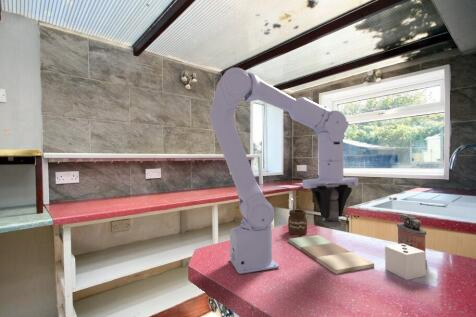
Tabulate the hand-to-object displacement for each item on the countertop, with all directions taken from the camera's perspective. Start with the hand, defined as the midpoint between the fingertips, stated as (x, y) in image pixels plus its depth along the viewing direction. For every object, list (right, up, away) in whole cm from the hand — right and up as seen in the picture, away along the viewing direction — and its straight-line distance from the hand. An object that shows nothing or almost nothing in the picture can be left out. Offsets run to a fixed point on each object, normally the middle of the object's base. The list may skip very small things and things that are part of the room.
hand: (331, 216), depth 61 cm
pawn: (0, -2, 0) cm, 2 cm away
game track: (-1, -10, +3) cm, 10 cm away
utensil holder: (-3, -10, +19) cm, 22 cm away
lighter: (+18, -10, -2) cm, 21 cm away
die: (+12, -10, -9) cm, 18 cm away
